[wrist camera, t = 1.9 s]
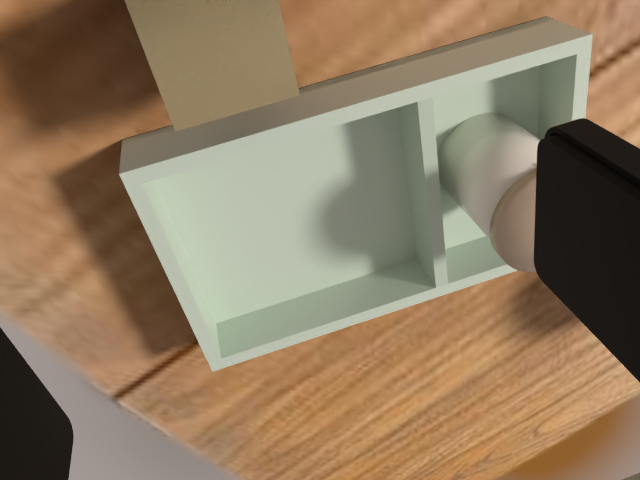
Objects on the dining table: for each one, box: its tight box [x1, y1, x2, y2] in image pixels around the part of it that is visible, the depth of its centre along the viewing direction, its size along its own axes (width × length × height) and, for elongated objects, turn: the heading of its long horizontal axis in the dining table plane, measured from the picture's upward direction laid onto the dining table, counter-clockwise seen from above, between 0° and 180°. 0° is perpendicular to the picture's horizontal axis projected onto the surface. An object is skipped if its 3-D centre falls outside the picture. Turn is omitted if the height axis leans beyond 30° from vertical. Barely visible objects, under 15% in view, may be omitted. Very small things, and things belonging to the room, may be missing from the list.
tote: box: [119, 16, 593, 372], centre depth 33 cm, size 24×14×4 cm, turn 103°
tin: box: [125, 0, 300, 132], centre depth 24 cm, size 5×5×7 cm
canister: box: [438, 113, 540, 272], centre depth 31 cm, size 6×6×8 cm
